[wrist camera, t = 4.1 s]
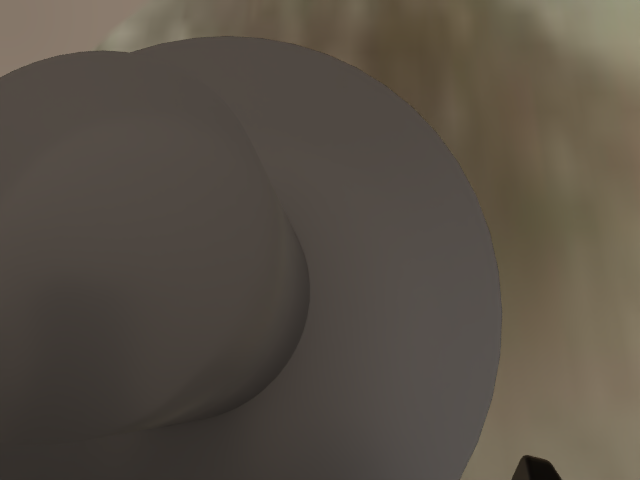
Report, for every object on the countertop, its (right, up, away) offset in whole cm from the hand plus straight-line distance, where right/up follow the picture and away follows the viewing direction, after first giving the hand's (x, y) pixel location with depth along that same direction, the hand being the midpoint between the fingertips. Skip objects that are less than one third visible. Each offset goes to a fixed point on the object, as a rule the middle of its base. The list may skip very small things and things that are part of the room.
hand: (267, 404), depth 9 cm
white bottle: (+1, -1, +9) cm, 9 cm away
